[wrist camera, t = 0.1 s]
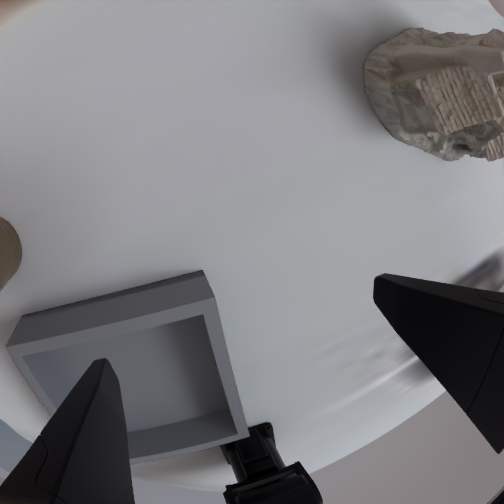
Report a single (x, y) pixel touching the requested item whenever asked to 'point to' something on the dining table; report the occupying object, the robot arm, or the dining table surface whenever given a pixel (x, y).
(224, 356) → the charcoal bin
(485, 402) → the robot arm
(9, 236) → the brass canister
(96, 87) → the dining table surface
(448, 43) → the ceramic cottage
